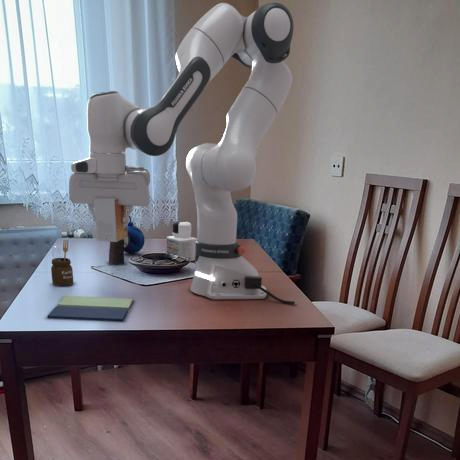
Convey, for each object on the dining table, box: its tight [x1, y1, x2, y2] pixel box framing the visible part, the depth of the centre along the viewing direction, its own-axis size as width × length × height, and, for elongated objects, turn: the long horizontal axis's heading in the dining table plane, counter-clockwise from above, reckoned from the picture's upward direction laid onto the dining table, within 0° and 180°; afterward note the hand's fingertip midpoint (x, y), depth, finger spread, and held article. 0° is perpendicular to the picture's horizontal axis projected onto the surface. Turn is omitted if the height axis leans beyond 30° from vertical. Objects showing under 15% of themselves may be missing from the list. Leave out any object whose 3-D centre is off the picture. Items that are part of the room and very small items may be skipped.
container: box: [166, 220, 197, 262], centre depth 195 cm, size 8×8×13 cm
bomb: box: [124, 210, 146, 254], centre depth 199 cm, size 10×11×15 cm
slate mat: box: [47, 305, 129, 322], centre depth 137 cm, size 18×8×1 cm, turn 91°
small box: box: [94, 198, 128, 243], centre depth 145 cm, size 8×6×10 cm
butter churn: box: [108, 239, 125, 266], centre depth 180 cm, size 9×10×28 cm
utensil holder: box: [50, 239, 74, 287], centre depth 158 cm, size 6×6×12 cm
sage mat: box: [57, 295, 134, 311], centre depth 145 cm, size 18×8×1 cm, turn 91°
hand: (111, 222), depth 145 cm, fingers closed on small box, 6 cm apart
